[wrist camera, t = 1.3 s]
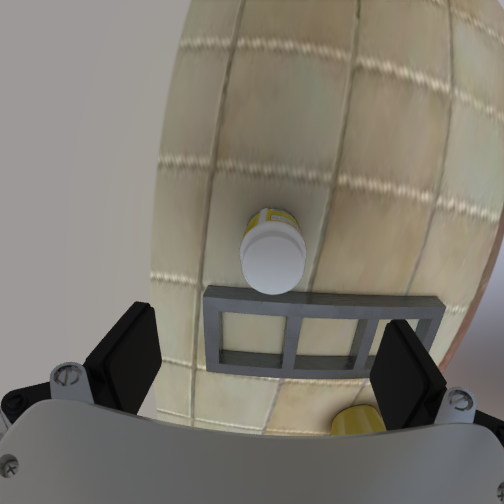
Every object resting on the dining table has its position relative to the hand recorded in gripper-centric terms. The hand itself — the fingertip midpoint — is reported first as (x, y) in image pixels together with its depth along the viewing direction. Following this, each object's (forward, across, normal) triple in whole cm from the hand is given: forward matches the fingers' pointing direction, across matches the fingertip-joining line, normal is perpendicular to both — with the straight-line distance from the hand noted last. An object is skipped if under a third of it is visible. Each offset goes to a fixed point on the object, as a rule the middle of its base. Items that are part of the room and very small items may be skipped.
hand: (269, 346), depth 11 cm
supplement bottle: (+16, 0, 0) cm, 16 cm away
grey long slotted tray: (+16, -6, +10) cm, 20 cm away
